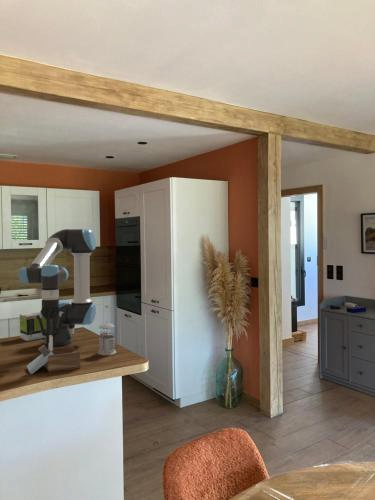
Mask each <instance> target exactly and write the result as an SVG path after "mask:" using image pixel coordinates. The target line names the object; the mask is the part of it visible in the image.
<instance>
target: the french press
mask: <svg viewBox="0 0 375 500" xmlns="http://www.w3.org/2000/svg"><path fill="white" fill-rule="evenodd" d="M104 307H105V308H110V307H109V305H108V304H106V305H105V306H104ZM115 327H116V326H115V325H114V324H113V323H108V322H106V323H102V324H100V325H99V327H98V328H99V329H101V331H100V332H99V337H98V339H99V341H98V343H99V350H98V351H97V355H101V356H110V355H115V354H116V353H117V351H116V350H115V334H114V332H108V331H105V330H110V329H113V328H115ZM102 329H103V330H102Z"/></svg>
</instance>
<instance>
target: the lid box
mask: <svg viewBox="0 0 375 500" xmlns="http://www.w3.org/2000/svg"><path fill="white" fill-rule="evenodd" d="M51 352H52V353H53V354H54V355H49V356H48V362H46V363H45V364H44V365H43V366H44V368H45V370H46V371H47V373H49V372H50V373H54V372H55V371H57V372H63V371H62V370H64V371H70V370H75V369H81V351H75V345H71V346H62V347H60V346H59V347H53V351H51ZM55 373H56V372H55Z"/></svg>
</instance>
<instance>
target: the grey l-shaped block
mask: <svg viewBox="0 0 375 500" xmlns="http://www.w3.org/2000/svg"><path fill="white" fill-rule="evenodd" d="M37 349H38V352H40V353H41V354H40V355H38V356H37V357H36V358H34V359H33V360H32V361H31V362H29V364H27V365H26V368H27V370H28V372H29V373H30V375H34V373H35V372H37V371H38V370H39V369H41V368H42V366H44V364H45V363H46V362H48V356H49V355H54V354H53V353H52V352H51V351H49V350H48V348H47V345H46V344H45V343H44V344H42V345H41V346H39V347H38V348H37Z"/></svg>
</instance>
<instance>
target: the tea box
mask: <svg viewBox="0 0 375 500" xmlns="http://www.w3.org/2000/svg"><path fill="white" fill-rule="evenodd" d="M39 313H40V311H36V312H35V311H34V312H28V313H27V312H26V313H21V314H19V337H20V339H21V338H22V340H24V341H26V342H28V341H29V342H30V341H35V340H40V339H45V337H46V336H43V335H42V333H41V329H40V326H39V322H38V319H37V318H36V315H38V314H39ZM41 316H42V317H41V320H42V324H43V327H44V331H45V333H46V320H45V318H44V317H43V315H41Z"/></svg>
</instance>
